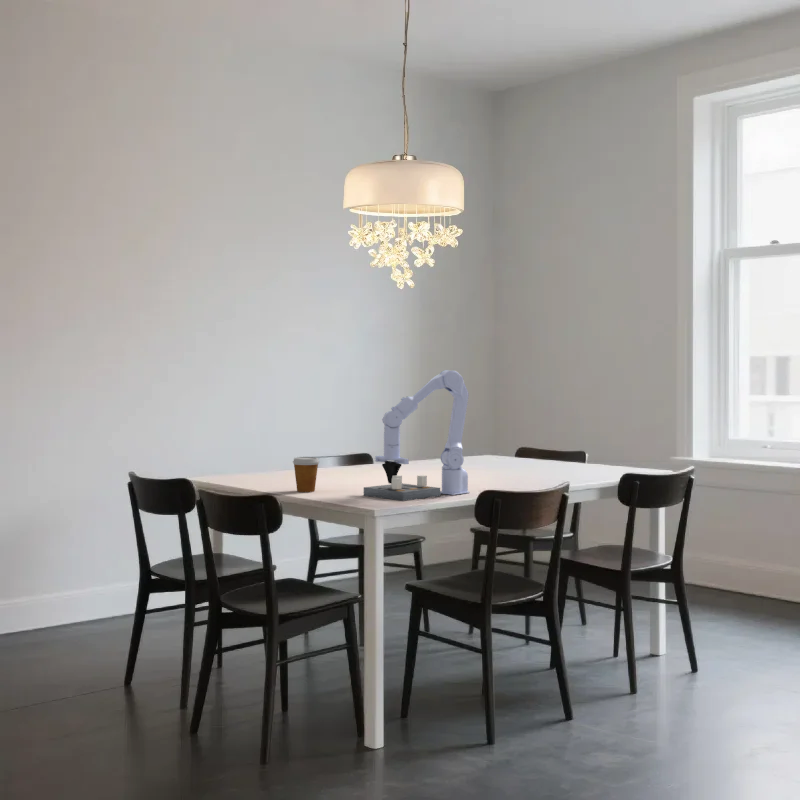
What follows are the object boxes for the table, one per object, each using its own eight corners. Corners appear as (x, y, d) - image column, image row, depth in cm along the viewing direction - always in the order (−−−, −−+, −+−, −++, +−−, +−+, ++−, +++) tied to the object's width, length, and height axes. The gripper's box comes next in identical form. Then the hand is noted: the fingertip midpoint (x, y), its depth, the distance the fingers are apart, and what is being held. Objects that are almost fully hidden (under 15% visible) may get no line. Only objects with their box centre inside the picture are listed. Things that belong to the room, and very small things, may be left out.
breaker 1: (396, 487, 359) (396, 477, 359) (401, 488, 357) (401, 478, 357) (391, 488, 357) (391, 478, 357) (396, 489, 356) (396, 478, 355)
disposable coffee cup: (311, 493, 369) (312, 459, 369) (287, 492, 372) (288, 458, 372) (323, 490, 378) (323, 457, 377) (300, 489, 381) (300, 456, 381)
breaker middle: (396, 485, 368) (397, 475, 368) (401, 485, 366) (401, 475, 366) (392, 485, 366) (392, 475, 366) (397, 486, 364) (397, 476, 364)
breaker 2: (421, 485, 368) (421, 475, 368) (426, 485, 367) (426, 475, 367) (417, 485, 367) (417, 475, 366) (422, 486, 365) (422, 476, 365)
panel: (400, 491, 378) (400, 482, 378) (440, 496, 365) (440, 487, 365) (363, 495, 364) (363, 486, 364) (403, 500, 351) (403, 491, 351)
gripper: (369, 444, 369) (369, 482, 370) (399, 446, 359) (398, 485, 360) (383, 443, 375) (383, 480, 375) (412, 445, 365) (412, 484, 365)
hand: (391, 483), depth 368 cm, fingers closed
